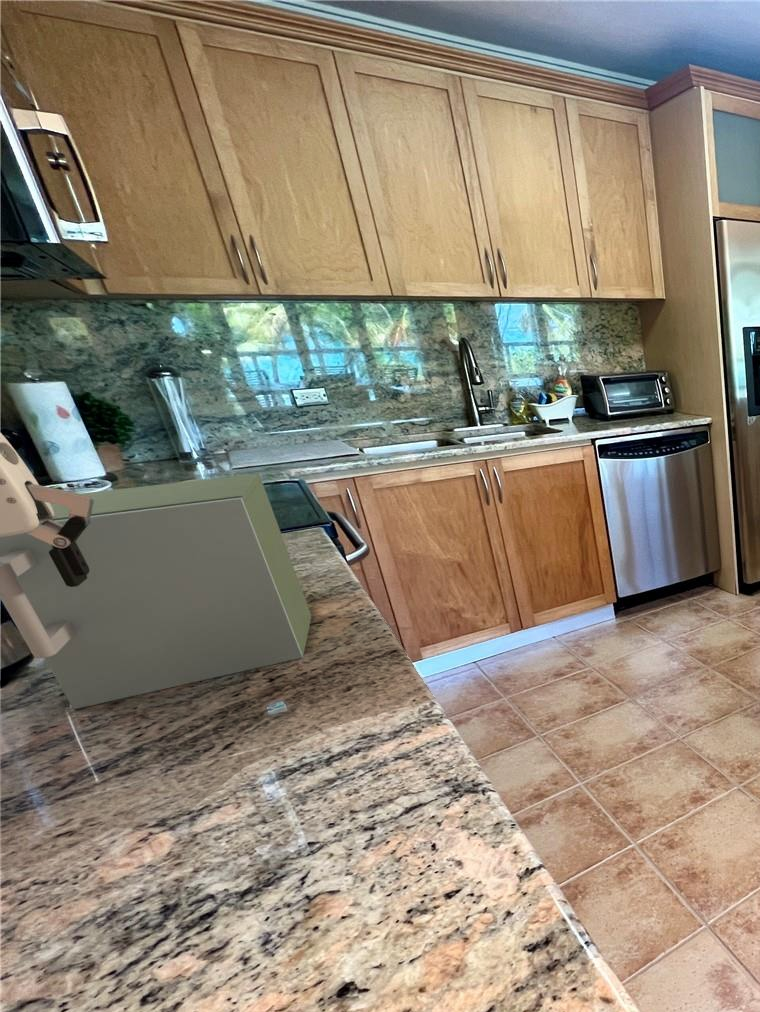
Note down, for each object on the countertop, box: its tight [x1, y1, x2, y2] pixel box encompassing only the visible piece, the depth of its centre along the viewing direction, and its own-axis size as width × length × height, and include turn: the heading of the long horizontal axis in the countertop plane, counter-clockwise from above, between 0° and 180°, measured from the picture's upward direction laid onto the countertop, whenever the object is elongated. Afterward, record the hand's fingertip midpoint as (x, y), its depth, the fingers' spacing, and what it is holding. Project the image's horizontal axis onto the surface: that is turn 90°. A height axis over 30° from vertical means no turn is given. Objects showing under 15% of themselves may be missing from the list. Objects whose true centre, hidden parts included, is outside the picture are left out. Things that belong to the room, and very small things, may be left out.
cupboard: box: [50, 473, 312, 656], centre depth 81 cm, size 15×22×22 cm
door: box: [0, 497, 304, 710], centre depth 72 cm, size 7×22×21 cm, turn 122°
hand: (11, 594), depth 63 cm, fingers open, 9 cm apart
